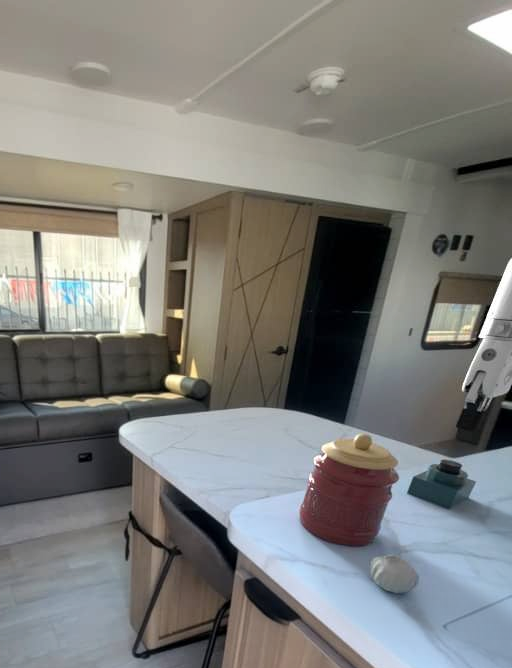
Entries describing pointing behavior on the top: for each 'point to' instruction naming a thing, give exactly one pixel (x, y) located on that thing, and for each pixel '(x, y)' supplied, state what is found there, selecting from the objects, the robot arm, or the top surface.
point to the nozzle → (450, 467)
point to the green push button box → (441, 487)
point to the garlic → (393, 574)
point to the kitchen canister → (349, 491)
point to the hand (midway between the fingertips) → (466, 428)
